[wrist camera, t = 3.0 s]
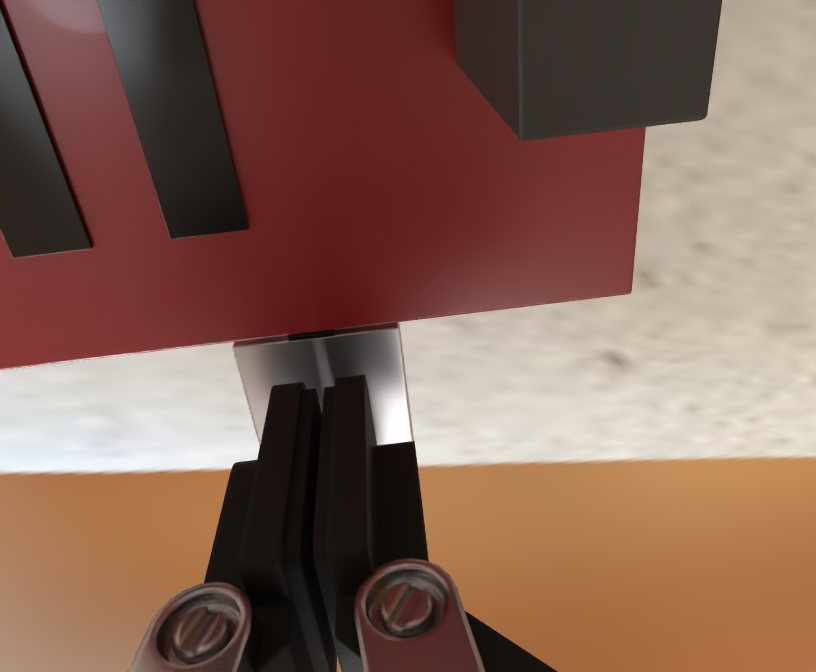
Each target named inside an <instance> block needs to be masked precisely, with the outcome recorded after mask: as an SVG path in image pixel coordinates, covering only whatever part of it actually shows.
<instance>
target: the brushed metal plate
mask: <svg viewBox="0 0 816 672" xmlns="http://www.w3.org/2000/svg"><path fill="white" fill-rule="evenodd" d="M232 349H233V352H234V356H235V359H236V363H237V366H238V370H239V374H240V377H241V381H242V384H243V388H244V391H245V395H246V398H247V402H248V405H249V409H250V413H251V416H252V420H253V423H254V427H255V430H256V434H257V437H258V441H259V444H261V439H262V434H263V429H264V423H265V418H266V413H267V408H268V403H269V398H270V393H271V388H272V386H273V385H281V384H289V383H297V382H303V383H304V384H305V387H306V389H314V388H315V389H316V390H317V393H318V398H319V402H320V407H321V412H322V409H323V395H324V388H325V387H331V386H334V385H335V378H339V377H347V376H355V375H364V374H365V376H366V380H367V385H368V392H369V398H370V404H371V410H372V416H373V423H374V429H375V435H376V441H377V445H385V444H393V443H401V442H409V441H414V437H413V429H412V421H411V413H410V405H409V397H408V389H407V381H406V372H405V364H404V356H403V348H402V340H401V332H400V324H399V322H393V323H385V324H377V325H369V326H360V327H352V328H344V329H336V335H335V336H331V337H323V338H315V339H307V340H298V341H290V342H289V340H288V335H286V336H278V337H269V338H261V339H253V340H245V341H236V342H234V344H233V348H232Z"/></svg>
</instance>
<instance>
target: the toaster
mask: <svg viewBox="0 0 816 672" xmlns="http://www.w3.org/2000/svg"><path fill="white" fill-rule="evenodd" d="M645 129H646V127H639V128H631V129H623V130H614V131H606V132H597V133H589V134H581V135H572V136H564V137H556V138H547V139H539V140H530V141H522V140H520V139H519V138H518V137H517V136H516V135H515V133H514V132H513V131H512V130H511V129H510V127H509V126H508V125H507V124H506V123H505V121H504V120H503V119H502V118H501V117H500V115H499V114H498V113H497V112H496V111H495V109H494V108H493V107H492V106H491V105H490V103H489V102H488V101H487V100H486V99H485V97H484V96H483V95H482V94H481V93H480V91H479V90H478V89H477V88H476V87H475V85H474V84H473V83H472V82H471V81H470V79H469V78H468V77H467V76H466V75H465V73H464V72H463V71H462V70H461V69H460V67H459V66H458V64H457V58H456V41H455V23H454V6H453V0H0V370H5V369H13V368H21V367H30V366H38V365H46V364H54V363H63V362H71V361H79V360H88V359H96V358H104V357H112V356H121V355H129V354H137V353H145V352H154V351H162V350H170V349H178V348H187V347H195V346H203V345H212V344H220V343H228V342H236V341H245V340H253V339H261V338H269V337H278V336H286V335H288V340H289V342H290V341H298V340H307V339H315V338H323V337H331V336H335V335H336V329H344V328H352V327H360V326H369V325H377V324H385V323H393V322H402V321H410V320H418V319H426V318H435V317H443V316H451V315H459V314H468V313H476V312H484V311H493V310H501V309H509V308H517V307H526V306H534V305H542V304H550V303H559V302H567V301H575V300H583V299H592V298H600V297H608V296H617V295H625V294H630V293H631V291H632V280H633V268H634V257H635V245H636V234H637V222H638V210H639V199H640V187H641V175H642V164H643V152H644V141H645Z"/></svg>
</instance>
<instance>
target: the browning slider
mask: <svg viewBox="0 0 816 672" xmlns="http://www.w3.org/2000/svg"><path fill="white" fill-rule="evenodd" d="M721 5H722V0H453V6H454V23H455V41H456V58H457V64H458V66H459V67H460V69H461V70H462V71H463V72H464V73H465V75H466V76H467V77H468V78H469V79H470V81H471V82H472V83H473V84H474V85H475V87H476V88H477V89H478V90H479V91H480V93H481V94H482V95H483V96H484V97H485V99H486V100H487V101H488V102H489V103H490V105H491V106H492V107H493V108H494V109H495V111H496V112H497V113H498V114H499V115H500V117H501V118H502V119H503V120H504V121H505V123H506V124H507V125H508V126H509V127H510V129H511V130H512V131H513V132H514V133H515V135H516V136H517V137H518V138H519V139H520V140H522V141H530V140H539V139H547V138H556V137H564V136H572V135H581V134H589V133H597V132H606V131H614V130H623V129H631V128H639V127H648V126H656V125H665V124H673V123H681V122H690V121H698V120H702V119H704V118H706V115H707V111H708V103H709V96H710V88H711V81H712V73H713V66H714V58H715V50H716V43H717V35H718V28H719V20H720V13H721Z"/></svg>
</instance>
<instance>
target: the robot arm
mask: <svg viewBox="0 0 816 672" xmlns="http://www.w3.org/2000/svg"><path fill="white" fill-rule="evenodd" d="M337 656H338V660H339V664H340V667H341V671H342V672H557V671H556V670H554V669H553V668H551V667H549V666H548V665H547V664H545V663H543V662H542V661H540V660H539V659H537V658H536V657H534V656H533V655H531V654H530V653H528V652H527V651H525V650H524V649H522V648H521V647H519V646H518V645H516V644H515V643H513V642H512V641H510V640H508V639H507V638H505V637H504V636H502V635H501V634H499V633H498V632H496V631H495V630H493V629H492V628H490V627H489V626H487V625H486V624H484V623H483V622H481V621H479V620H478V619H477V618H475V617H474V616H472V615H470V614H469V613H467V612H466V611H465V610H464V608H463V605H462V602H461V599H460V596H459V593H458V590H457V588H456V585H455V584H454V582H453V580H452V578H451V577H450V575H449V574H448V573H446V572H445V571H444V570H443V569H442V568H441V567H439V566H438V565H436V564H433V563H431V562H429V559H428V550H427V542H426V534H425V525H424V516H423V507H422V499H421V491H420V482H419V475H418V466H417V458H416V450H415V442H414V441H409V442H401V443H393V444H385V445H377V441H376V435H375V429H374V423H373V416H372V410H371V404H370V398H369V392H368V385H367V380H366V376H365V374H364V375H355V376H347V377H339V378H335V385H334V386H331V387H325V388H324V395H323V409H322V412H321V407H320V402H319V398H318V393H317V390H316V389H315V388H314V389H306V387H305V384H304V383H303V382H297V383H289V384H281V385H273V386H272V388H271V393H270V398H269V403H268V408H267V413H266V418H265V423H264V429H263V434H262V439H261V444H260V449H259V454H258V459H257V460H253V461H244V462H236V463H235V464H234V465H233V467H232V470H231V473H230V477H229V481H228V485H227V489H226V494H225V498H224V502H223V506H222V510H221V514H220V518H219V523H218V527H217V531H216V535H215V540H214V544H213V548H212V552H211V556H210V560H209V564H208V569H207V573H206V577H205V581H204V583H203V584H199V585H196V586H194V587H191V588H188V589H186V590H184V591H182V592H181V593H179V594H178V595H176V596H175V597H173V598H171V599H170V600H169V601H168V602H167V603H166V604H165V605H164V606H163V607H162V608H161V609H160V610H159V611H158V612H157V614H156V615H155V617H154V618H153V620H152V621H151V623H150V625H149V627H148V629H147V631H146V633H145V635H144V637H143V639H142V642H141V644H140V646H139V648H138V650H137V652H136V654H135V656H134V659H133V661H132V663H131V665H130V667H129V670H128V671H127V672H337Z"/></svg>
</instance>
